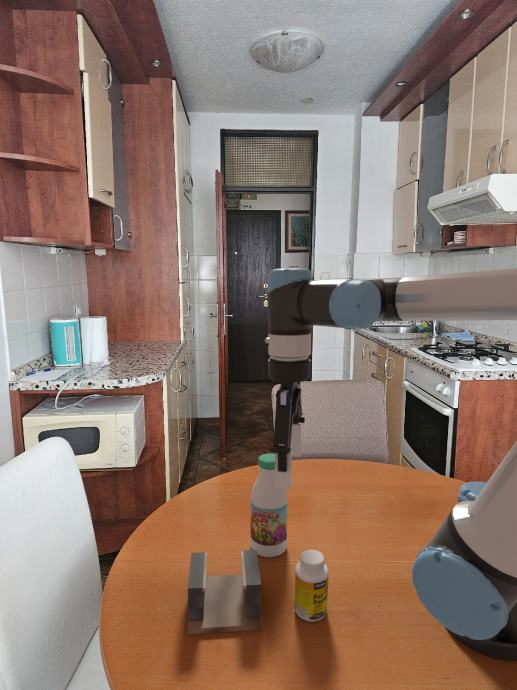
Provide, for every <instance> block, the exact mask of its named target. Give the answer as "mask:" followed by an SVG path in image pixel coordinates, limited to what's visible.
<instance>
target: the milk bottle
mask: <svg viewBox="0 0 517 690" xmlns="http://www.w3.org/2000/svg"><path fill="white" fill-rule="evenodd" d="M257 460H258V461H257V464H258V466H257V467H258V469H259V470H258V475H257V478H256V480H255V482H254V484H253V486H252V490H251V494H250V530H249V531H250V535H249V536H250V549H251V550H257V556H260V557H264V558H274V557H275V558H276V557H278V556H281V555H283V554H284V552H285V551H286V550H287V547H288V519H289V518H288V516H289V515H288V510H289V509H288V508H289V506H288V505H289V503H288V501H289V500H288V492H287V489H285V488H275V453H264V454H261V455H260V456H258V459H257Z"/></svg>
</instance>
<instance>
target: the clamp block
mask: <svg viewBox="0 0 517 690" xmlns="http://www.w3.org/2000/svg"><path fill="white" fill-rule="evenodd" d="M240 556H241V571H242V572H241V574H222V575H221V574H220V575H207V573H208V572H207V571H208V552H205V551H203V552H202V551H200V552H191V553H190V563H189V565H190V566H189V573H188V574H189V575H188V583H187V609H188V611H187V612H188V613H187V615H188V616H187V625H186V626H187V627H186V634H187V635H198V634H199V635H200V634H201V635H202V634H203V635H204V634H215V633H216V634H218V633H230V632H231V633H233V632H245V631H246V632H247V631H249V632H250V631H262V630H263V618H262V581H261V573H260V567H259V558H258V556H259V555H257V550H252V549H244V550H241V551H240Z"/></svg>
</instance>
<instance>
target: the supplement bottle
mask: <svg viewBox="0 0 517 690" xmlns="http://www.w3.org/2000/svg"><path fill="white" fill-rule="evenodd" d="M294 569H295V571H294V572H295V573H294V575H295V576H294V612H295V613H296V614H297V616H298V617H299V618H300V619H302V620H304V621H306V622H311V623H313V622H318V621H322V620H323V619H324V618H325V616H326V615H327V611H328V596H329V595H328V594H329V593H328V592H329V591H328V590H329V568H328V566H327V565H326V563H325V556H324V554H323V553H322V552H320V551H319V550H315V549H307V550H304V551H302V552H301V554H300V559H299V561H298V562H297V563H296V565H295V568H294Z"/></svg>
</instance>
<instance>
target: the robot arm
mask: <svg viewBox="0 0 517 690" xmlns="http://www.w3.org/2000/svg"><path fill="white" fill-rule="evenodd" d="M266 297H267V298H266V301H267V321H268V323H267V325H268V326H267V330H268V331H267V333H268V336H267V337H266V338H265V339H264V342H265V344H268V346H267V347H268V349H267V351H268V355H269V356H270V357H269V359H268V360H267V365H268V366H267V372H268V373H267V374H268V375H267V376H268V378H269V379H270V380H272V381H274V382H279V385H280V386H279V387H278V389H277V390H276V393H275V413H274V415H275V416H274V427H273V428H274V430H273V441H272V446H271V447H269V452H270V453H272V454H275V488H285V489H286V490H287V489H288V490H292V487H293V486H292V481H293V480H292V478H293V476H292V475H293V474H292V470H293V469H292V468H293V467H292V466H293V465H292V460H293V459H292V458H293V457H299V458H301V456H302V424H305V422H306V421H305V420H306V418H305V417H304V416H303V414H304V413H303V407H302V406H303V405H302V387H301V383H302V382H306V381H308V380H309V379H310V378H311V361H312V360H311V359H310V358H309V357H310V356H311V354H312V351H311V350H312V330H311V328H312V326H318V327H328V328H338V329H344V330H349V331H351V330H365V329H369V328H371V327H372V326H373V325H374V323H379V322H409V321H410V322H413V321H415V322H416V321H421V322H422V321H423V322H424V321H427V322H428V321H429V322H431V321H434V322H436V321H437V322H438V321H444V322H445V321H447V322H448V321H457V322H458V321H517V267H512V268H501V269H489V270H488V269H487V270H476V271H463V272H453V273H452V272H451V273H441V274H428V275H414V276H403V277H392V278H391V277H390V278H378V279H376V278H375V279H374V278H373V279H357V278H355V279H353V278H350V279H330V280H329V279H327V280H315V279H313V278H312V271H311V270H310V269H308V268H274V269H272V270H270V272H269V273H268V278H267V292H266ZM456 498H457V503H456V504H455V505H454V507H453V508H452V510H451V511H450V512H449V514H448V516H447V517H446V518H445V519H444V521H443V522H442V524H441V526H440V527H439V528H438V530H437V531H436V533H435V534H434V536H433V537H432V538H431V540H430V541H429V542H428V543H427V545H426V546H425V547H424V548H422V549H421V550H419V552H418V553H417V555H416V557H415V560H414V561H413V564H412V569H411V580H412V584H413V587H414V588H415V590H416V594H417V597H418V599H419V600H420V602H421V604H422V605H423V607H424V608H425V609H426V611H427V612H428V613H429V614H430V615H431V616H432V617H433V619H435V620H436V621H437V622H438V623H440V624H441V625H442V626H443V627H444V628H446V629H447V630H448V631H449V632H450V633H451V634H452V635H453V636H454V638H456V639H457V640H459V641H460V642H461V643H462V644H464V645H466V646H468V647H469V648H471V649H472V650H475V651H477V652H478V653H481V654H482V655H485V656H489V657H491V658H495V659H499V660H504V661H505V660H506V661H507V660H508V661H517V440H515V442H514V444H513V445H512V447H511V448H510V449H509V451H508V452H507V454H506V455H505V456H504V458H503V459H502V460H501V462H500V464H499V465H498V467H497V468H496V469H495V471H494V472H493V474H491V476H490V478H489V479H488V481H487V482H485V481H469V482H465V483H463V484H462V485H460V487H459V490H458V494H457V496H456Z"/></svg>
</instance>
